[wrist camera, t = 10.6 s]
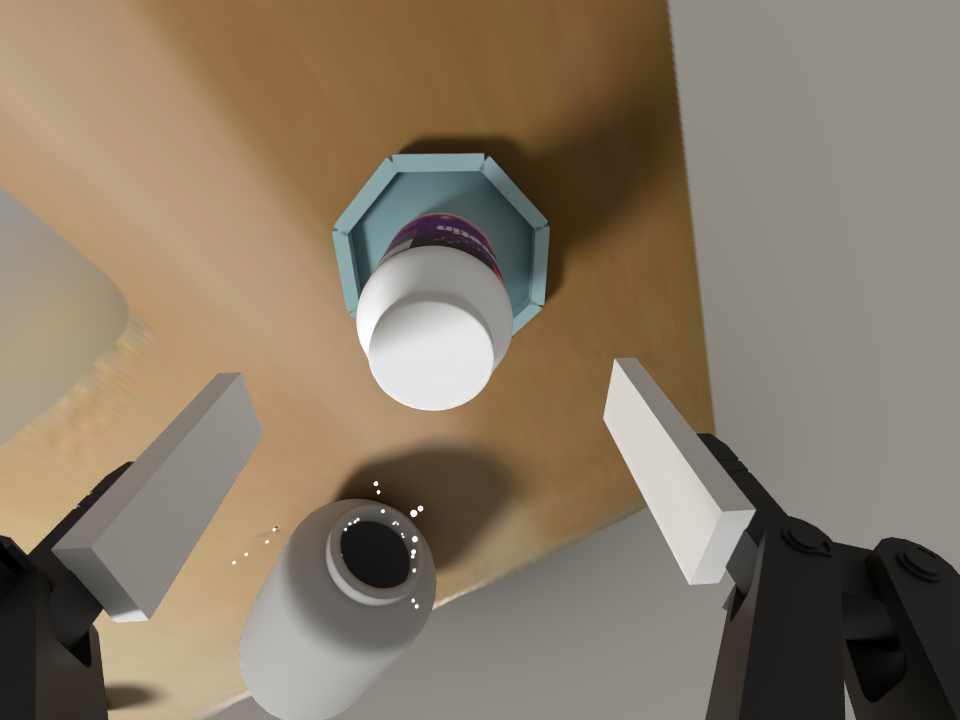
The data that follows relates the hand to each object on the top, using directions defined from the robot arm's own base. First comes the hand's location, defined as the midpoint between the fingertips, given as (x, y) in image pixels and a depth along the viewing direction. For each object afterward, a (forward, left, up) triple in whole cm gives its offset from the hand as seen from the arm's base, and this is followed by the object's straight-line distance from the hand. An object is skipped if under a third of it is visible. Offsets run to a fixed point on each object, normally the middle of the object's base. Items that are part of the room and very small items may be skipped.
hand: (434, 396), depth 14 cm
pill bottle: (0, 0, -18) cm, 18 cm away
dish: (0, 0, -18) cm, 18 cm away
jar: (+27, -11, -19) cm, 35 cm away
